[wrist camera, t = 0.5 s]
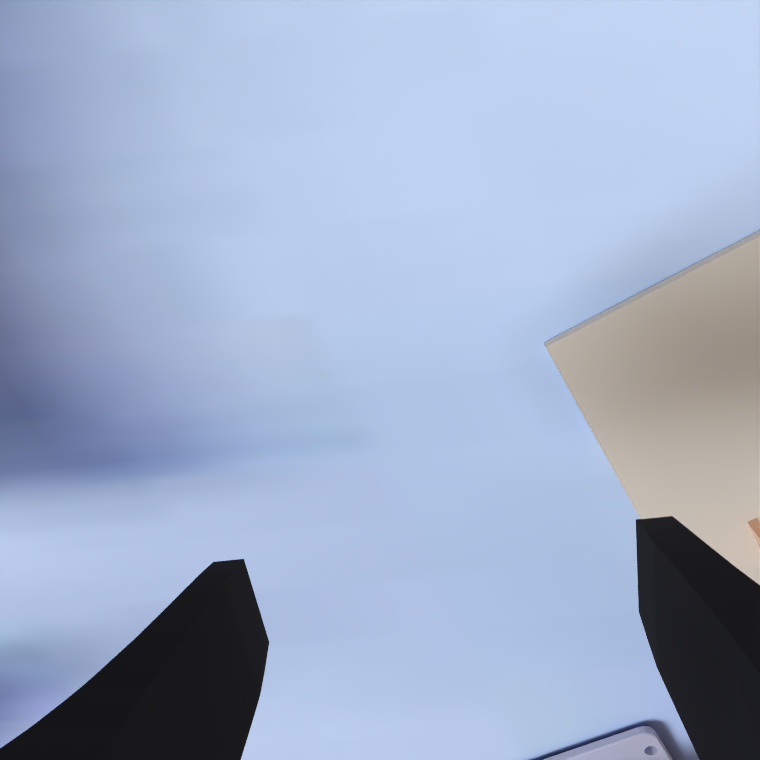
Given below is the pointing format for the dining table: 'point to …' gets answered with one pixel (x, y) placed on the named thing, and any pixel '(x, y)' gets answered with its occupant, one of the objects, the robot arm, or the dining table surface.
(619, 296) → the dining table surface
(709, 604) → the robot arm
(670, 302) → the mat
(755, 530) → the block
